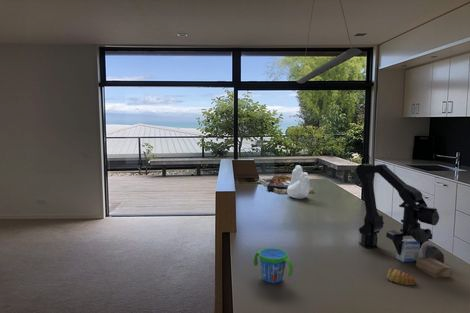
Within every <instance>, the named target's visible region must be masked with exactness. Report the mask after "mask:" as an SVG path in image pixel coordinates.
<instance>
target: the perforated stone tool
mask: <svg viewBox="0 0 470 313" xmlns="http://www.w3.org/2000/svg"><path fill="white" fill-rule="evenodd" d="M421 253H422V256H423V258H431V257H432V258H434V259H435V260H437V261H439V262H441V263H443V264H445V255H444V253H443V252H442V250H440V249H439V248H438V247H436V246H435V245H433V244H429V243H423V244H422V246H421Z"/></svg>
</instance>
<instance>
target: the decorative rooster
mask: <svg viewBox="0 0 470 313" xmlns="http://www.w3.org/2000/svg"><path fill="white" fill-rule="evenodd" d="M291 176H292V177H291ZM291 176H290V177H291V181H290V183H289V186H288V188H287V193H288V194H287V195H288V196H289V197H291V198H293V199H298V200H299V199H300V200H302V199H305V198H306V197H308V196H309V194H310V193H309V187H310V188H311V186H310V177H309V174H308V172H306V171H303V167H302V166H301V165H300V164H299V165H298V164H297V165H295V167H294V169H293V170H292V172H291Z"/></svg>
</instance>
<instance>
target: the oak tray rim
mask: <svg viewBox="0 0 470 313" xmlns="http://www.w3.org/2000/svg"><path fill="white" fill-rule="evenodd" d="M271 179H272V178H259V179H258V182H259V183H260V185H261V184H262V185H263V186H265V187H266V188H267V186H268V184H269V182H270V181H271ZM273 192H274V193H275V194H277V195H278V194H279V195H281V194H285V195H286V194H287V195H288V193H287V190H278V189H276V188H274V190H273V191H272V193H273ZM313 193H315V189H314V188H313V187H311V186H310V187H309V193H308V194H313Z"/></svg>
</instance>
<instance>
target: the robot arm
mask: <svg viewBox="0 0 470 313" xmlns="http://www.w3.org/2000/svg"><path fill="white" fill-rule="evenodd" d="M355 173H356V176H357V178H358V180H359V181H360V183H361V187H362V194H363V200H364V201H363V202H364V208H365V216H364V218H363V225H362V226H360V227H359V229H358V230H359V231H358V232H359V234H361V239H360V242H358V244H360V245H361V246H363V247H364V248H366V249H374V248H379V245H378V234H379V233H380V231H382V229H383V228H384V225H385V222H384V217H383V215H380V214H379V212H378V209H377V203H376V197H375V196H376V194H375V188H374V183H373V182H374V178H375V174H378V175H379V176H381V177H382V178H383V179H384V180H385V181H386V182H387V183H388V184H390V186H391V187H392V188H393V189H394V190H396V191H397V193H398V195H399V197H400V198H401V200H402V203H401V204H399V205H398V207H399V208H402V209H403V214H402V215H403V216H402V218H403V219H400V222H401V223H402V228H400V229H399V231H397V230H388V231H386V233H385V234H386V236H385V238H388V239H389V240H391V241H392V243H393V245H394V247H395V251H396V254H397V253H398V255H401V249H402V244H403V243H404V241H402V240H404V238H412V239H415V241H417V242H420V248H419V251H420V249H422V247H423V245H424V244H425V243H426V242H428V241H429V240H433V233H432V230H431V229H430V228H422V227H421V223H424V224H427V225H431V226H436V225H438V224H439V219H440V215H439V212H438V209H437V208H436V207H428V204H427V202H426V201H425V199H424V198H423V193H422V192H421V190H419V189H417V188H415V187H414V186H411V185H409V184H408V183H406V182H405V181H404V180H402V179H401V178H400V177H399V176H398V175H397V174H396V173H394V172H393V170H391V169H390V168H389V167H388V166H387V165H386V164H384V163H382V164H379V163H378V164H376V165H375V164H374V165H373V164H372V163H362V164H361V163H360V164H358V165H357V166H356V167H355Z"/></svg>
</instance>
